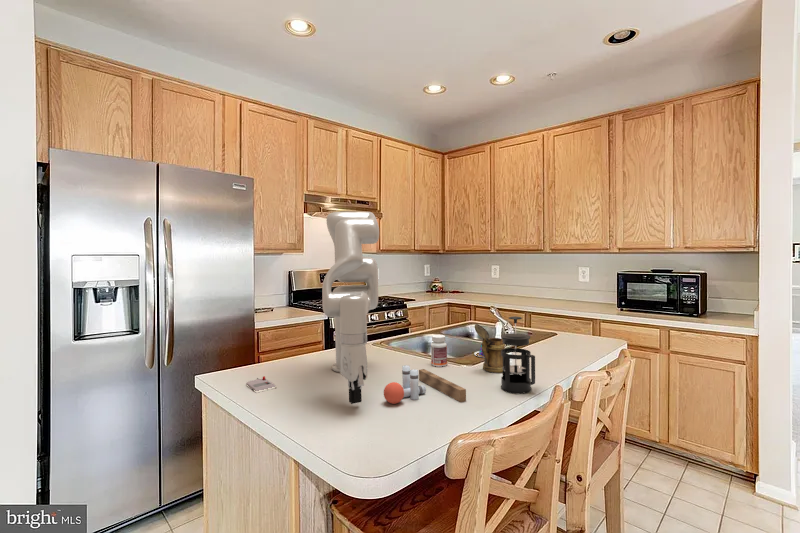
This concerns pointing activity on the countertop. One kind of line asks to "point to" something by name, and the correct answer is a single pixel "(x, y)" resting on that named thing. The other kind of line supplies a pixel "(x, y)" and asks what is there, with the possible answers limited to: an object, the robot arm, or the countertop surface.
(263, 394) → the countertop surface
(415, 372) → the pin
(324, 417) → the countertop surface
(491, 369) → the wooden mug
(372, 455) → the countertop surface
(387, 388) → the ball
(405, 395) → the front pin
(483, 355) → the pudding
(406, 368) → the pin
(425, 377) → the back wall
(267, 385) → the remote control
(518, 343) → the french press
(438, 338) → the pill bottle
